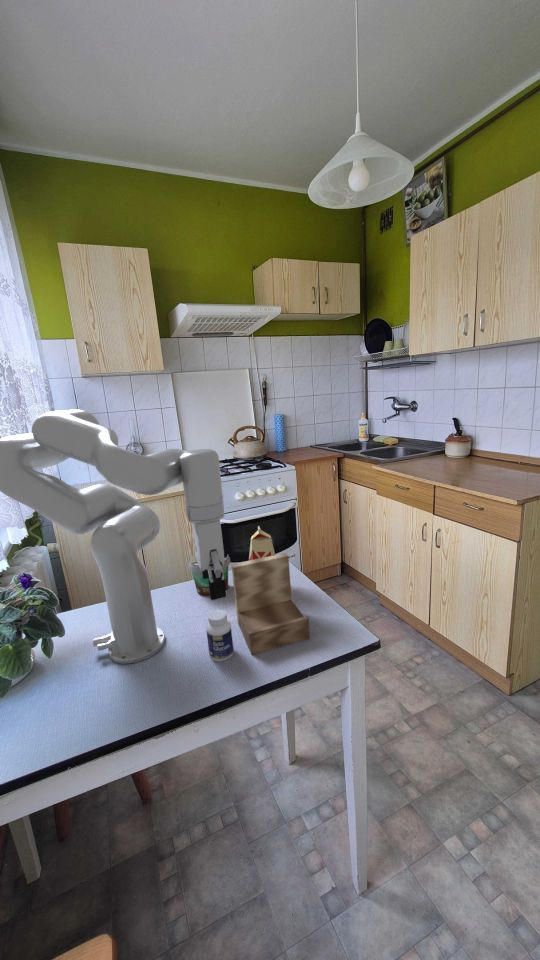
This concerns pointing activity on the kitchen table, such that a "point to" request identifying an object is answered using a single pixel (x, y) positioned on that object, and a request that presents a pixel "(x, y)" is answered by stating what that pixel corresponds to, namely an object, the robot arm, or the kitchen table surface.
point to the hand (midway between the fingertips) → (214, 587)
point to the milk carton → (261, 545)
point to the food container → (203, 584)
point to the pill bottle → (219, 636)
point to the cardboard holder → (267, 604)
